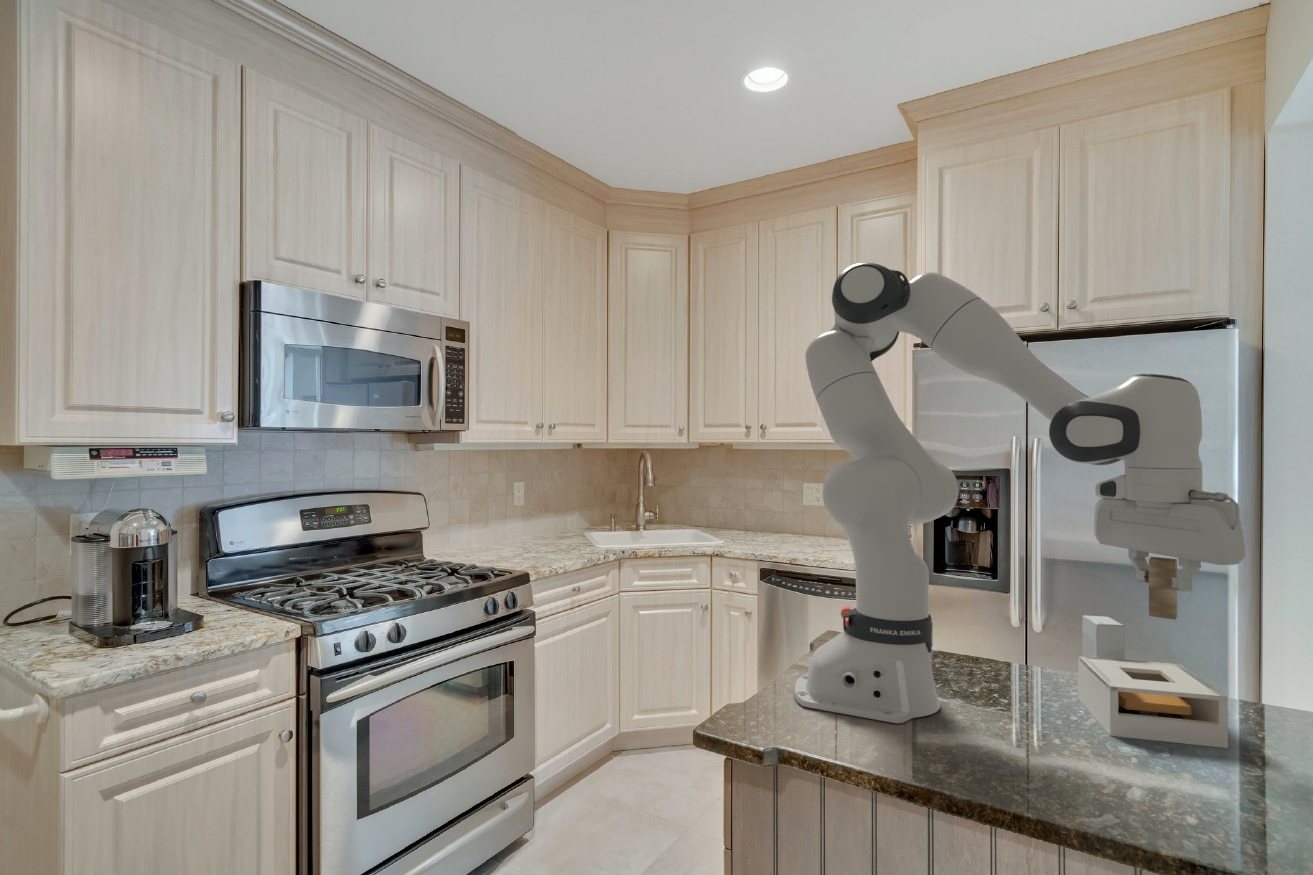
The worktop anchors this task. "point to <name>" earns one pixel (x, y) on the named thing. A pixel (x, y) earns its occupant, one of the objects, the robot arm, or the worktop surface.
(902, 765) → the worktop surface
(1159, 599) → the brown wooden block
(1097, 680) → the box
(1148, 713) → the button
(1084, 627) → the skincare box
